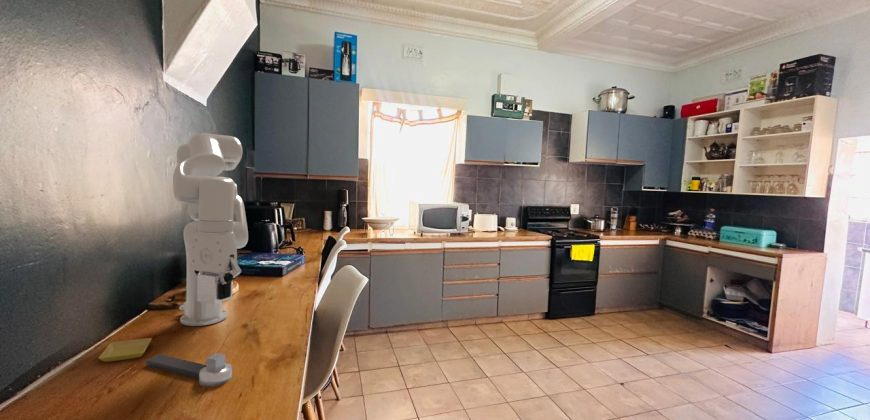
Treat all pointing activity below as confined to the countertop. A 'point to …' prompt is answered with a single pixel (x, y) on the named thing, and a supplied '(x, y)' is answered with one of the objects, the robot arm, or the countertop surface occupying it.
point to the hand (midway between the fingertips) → (215, 295)
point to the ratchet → (195, 368)
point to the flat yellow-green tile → (125, 350)
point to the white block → (209, 288)
